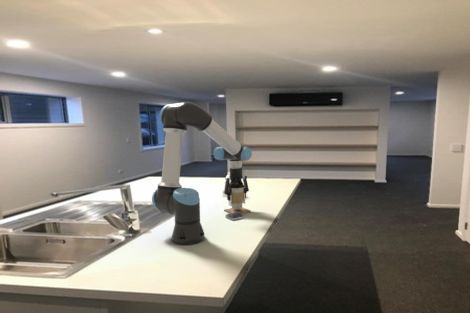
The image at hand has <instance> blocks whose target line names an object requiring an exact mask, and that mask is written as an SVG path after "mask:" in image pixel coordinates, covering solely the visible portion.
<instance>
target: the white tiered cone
mask: <svg viewBox="0 0 470 313" xmlns="http://www.w3.org/2000/svg"><path fill="white" fill-rule="evenodd" d="M229 177H230V171H229V172H227V175H226V176H225V178H229ZM230 182H231V180H230V181H229V184H230ZM225 184H226V180H225V179H223V184H222V187H221V198H225V197H227V195H226V194H224V190H225Z"/></svg>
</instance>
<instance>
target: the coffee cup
mask: <svg viewBox="0 0 470 313" xmlns="http://www.w3.org/2000/svg"><path fill="white" fill-rule="evenodd" d="M229 188H231V189H232V192H231V194H230V195H232V206H231V208H232V209H241V208H242V207H243V203H242V202H243V193H244V191H243V190H244V182H242V184H239V183H235V185H232V184H229Z"/></svg>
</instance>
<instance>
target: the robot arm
mask: <svg viewBox="0 0 470 313" xmlns="http://www.w3.org/2000/svg"><path fill="white" fill-rule="evenodd" d="M159 120H160V121H159V122H160V123H161V125H162V130H163V131H164V132H165V136H164V137H165V140H164V149H163V160H162V171H161V179H160V180H161V181H160V182H159V183H157V189H155V191H153V193H152V197H151V203H152V206H153V207H154V208H155V209H156V210H157V211H158V212H161V213H163V214H169V215H173V216H174V226H173V231H172V234H171V242H172V243H173V244H176V245H179V246H191V245H196V244H199V243H201V242H203V241H204V240H206V239H205V238H206V237H205V231H204V229H203V226H202V223H201V205H200V204H201V203H200V200H201V199H200V195H199V194H200V193H199V192H198V191H197V190H196V189H194V188H192V187H191V188H190V187H182V186H183V185H182V184H181V183H180V175H181V165H182V153H183V142H184V134H186V133H187V132H188V127H191V128H194V129H195V130H197V131H199V132H203V133H204V134H206V135H207V136H208V137H209V138H210V139H212V140H213V142H215V143H217V145H218V147H214V150H213V157H214V159H215V160H218V161H224V160H226V161H229V172H230V177H229V178H226V177H225V178H224V180H226V184H225V190H224V194H226V195H227V199H226V200H227V201H228V206H230V207H232V195H230V194H231V192H232V189H231V188H229V181H230V180H231V182H230V184H232V185H235V183H239V184H242V183H243V185H244V190H243V191H244V193H243V202H242V204H244V205H245V204H246V198H247V193H248V192H250V190H249V185H248V180H247V179H248V176H247V175H243V168H242V167H243V162H244V161H247V162H248V161H249V160H250V159H251V158H252V152H253V151H252V149H251V147H249V146H243V145H242V142H240V141H237V140H236V138H235V137H233V136H232V135H230V134H229V133H228V132H227V131H226V130H225V129H224V128H223V127H222V126H220V125H219V124H218V122H217V121H215V120H214V119H213V115H211V114H210V113H209V112H208V111H207V110H205V109H204V108H203V107H201V106H200V105H198V104H197V103H194V102H192V101H191V102H190V101H183V102H172V103H169V104H166V105H164V106H163V107H162V108H161V110H160V112H159Z"/></svg>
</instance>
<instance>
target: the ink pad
mask: <svg viewBox="0 0 470 313" xmlns="http://www.w3.org/2000/svg"><path fill="white" fill-rule="evenodd" d="M224 217H225V218H226V219H228V220H230V221H237V220H238V221H239V220H243V219H245V215H243V214H239V213H231V214H230V213H227V214H225V216H224Z"/></svg>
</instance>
